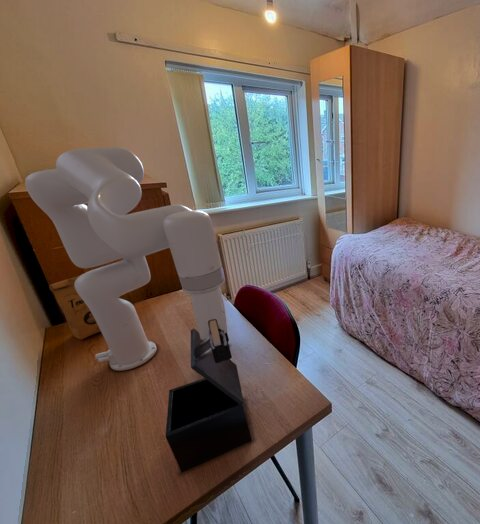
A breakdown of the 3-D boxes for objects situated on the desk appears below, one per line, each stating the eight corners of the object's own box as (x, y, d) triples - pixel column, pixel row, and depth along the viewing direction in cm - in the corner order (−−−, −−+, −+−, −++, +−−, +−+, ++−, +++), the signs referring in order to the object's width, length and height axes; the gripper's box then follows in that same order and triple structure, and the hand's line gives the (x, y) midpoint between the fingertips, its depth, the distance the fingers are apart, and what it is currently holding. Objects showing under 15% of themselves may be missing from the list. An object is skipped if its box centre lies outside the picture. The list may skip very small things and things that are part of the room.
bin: (181, 472, 61) (165, 436, 56) (182, 424, 71) (169, 390, 66) (252, 441, 67) (242, 405, 62) (243, 400, 77) (235, 367, 72)
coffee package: (120, 326, 108) (98, 274, 99) (78, 344, 99) (49, 289, 90) (112, 317, 114) (90, 267, 105) (72, 333, 105) (44, 280, 96)
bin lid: (190, 367, 53) (214, 350, 54) (190, 330, 63) (210, 316, 64) (240, 405, 61) (260, 390, 62) (233, 367, 72) (250, 354, 73)
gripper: (181, 264, 60) (202, 334, 67) (178, 303, 46) (204, 386, 53) (220, 257, 63) (236, 325, 70) (228, 292, 49) (246, 371, 56)
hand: (222, 350), depth 62 cm, fingers closed on bin lid, 5 cm apart
